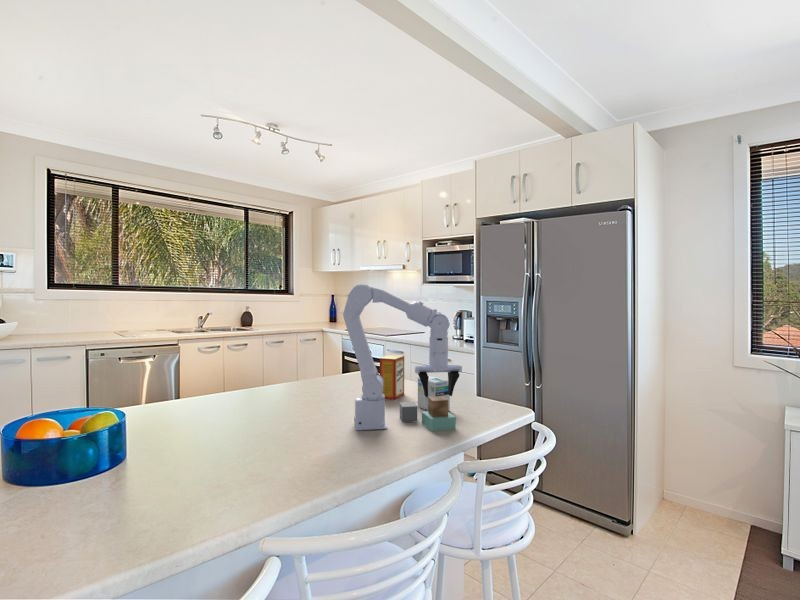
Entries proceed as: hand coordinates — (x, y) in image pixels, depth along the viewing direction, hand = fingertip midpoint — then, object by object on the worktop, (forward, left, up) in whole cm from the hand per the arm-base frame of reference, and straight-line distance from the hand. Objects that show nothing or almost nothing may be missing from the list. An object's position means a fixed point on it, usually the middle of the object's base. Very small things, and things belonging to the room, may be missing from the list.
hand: (438, 395), depth 133 cm
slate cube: (-8, +8, -10) cm, 15 cm away
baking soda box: (-9, +39, -10) cm, 41 cm away
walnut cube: (0, 0, -6) cm, 6 cm away
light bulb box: (+3, +19, -10) cm, 22 cm away
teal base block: (0, 0, -10) cm, 10 cm away
